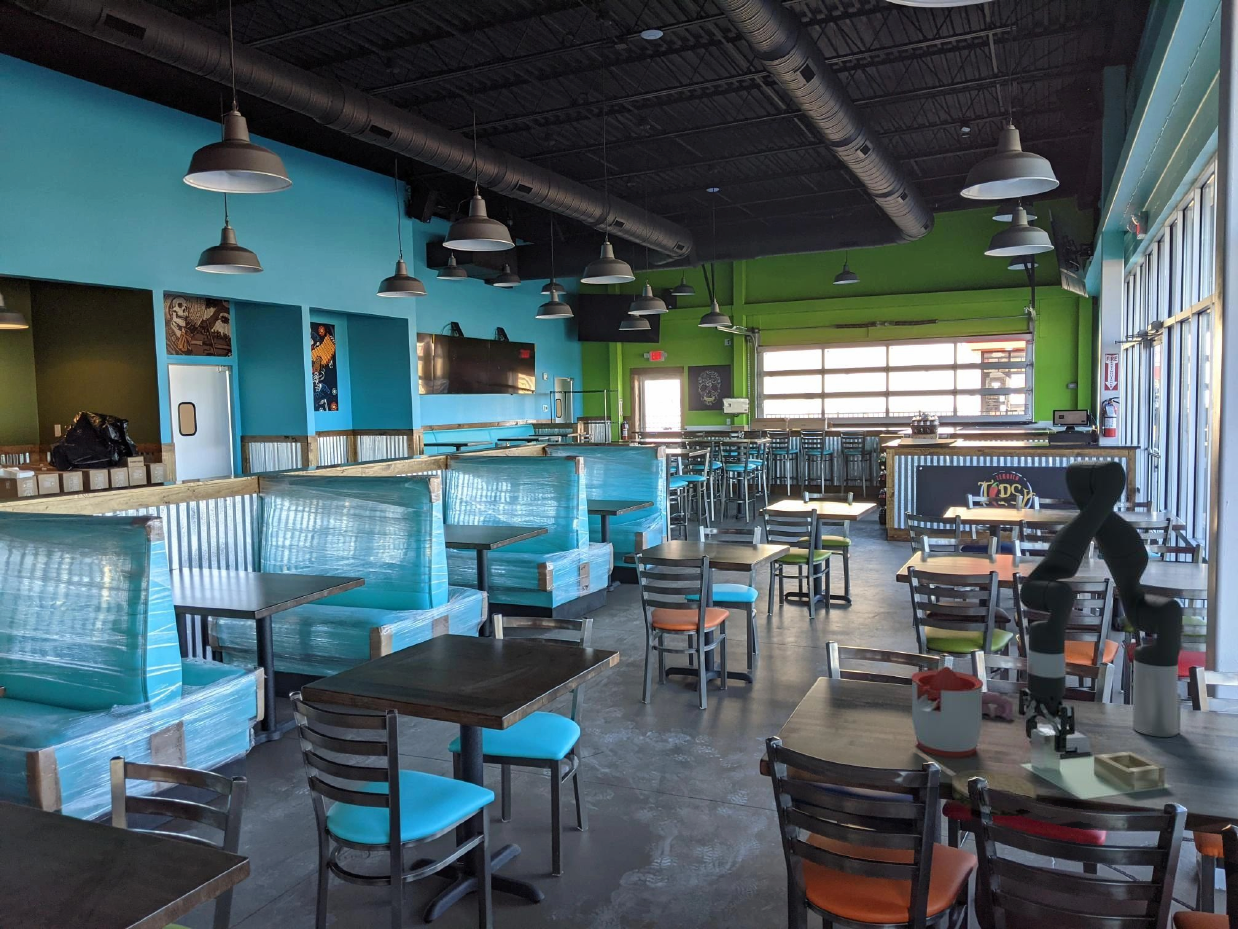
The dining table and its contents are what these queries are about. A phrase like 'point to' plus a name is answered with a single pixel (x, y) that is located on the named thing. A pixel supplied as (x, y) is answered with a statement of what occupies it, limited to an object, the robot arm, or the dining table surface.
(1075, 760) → the board
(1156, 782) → the shallow wooden crate
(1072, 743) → the charger
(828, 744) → the dining table surface
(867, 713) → the dining table surface
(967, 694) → the citrus juicer
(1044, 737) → the peg
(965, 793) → the olive brown round disc
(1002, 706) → the video game controller
